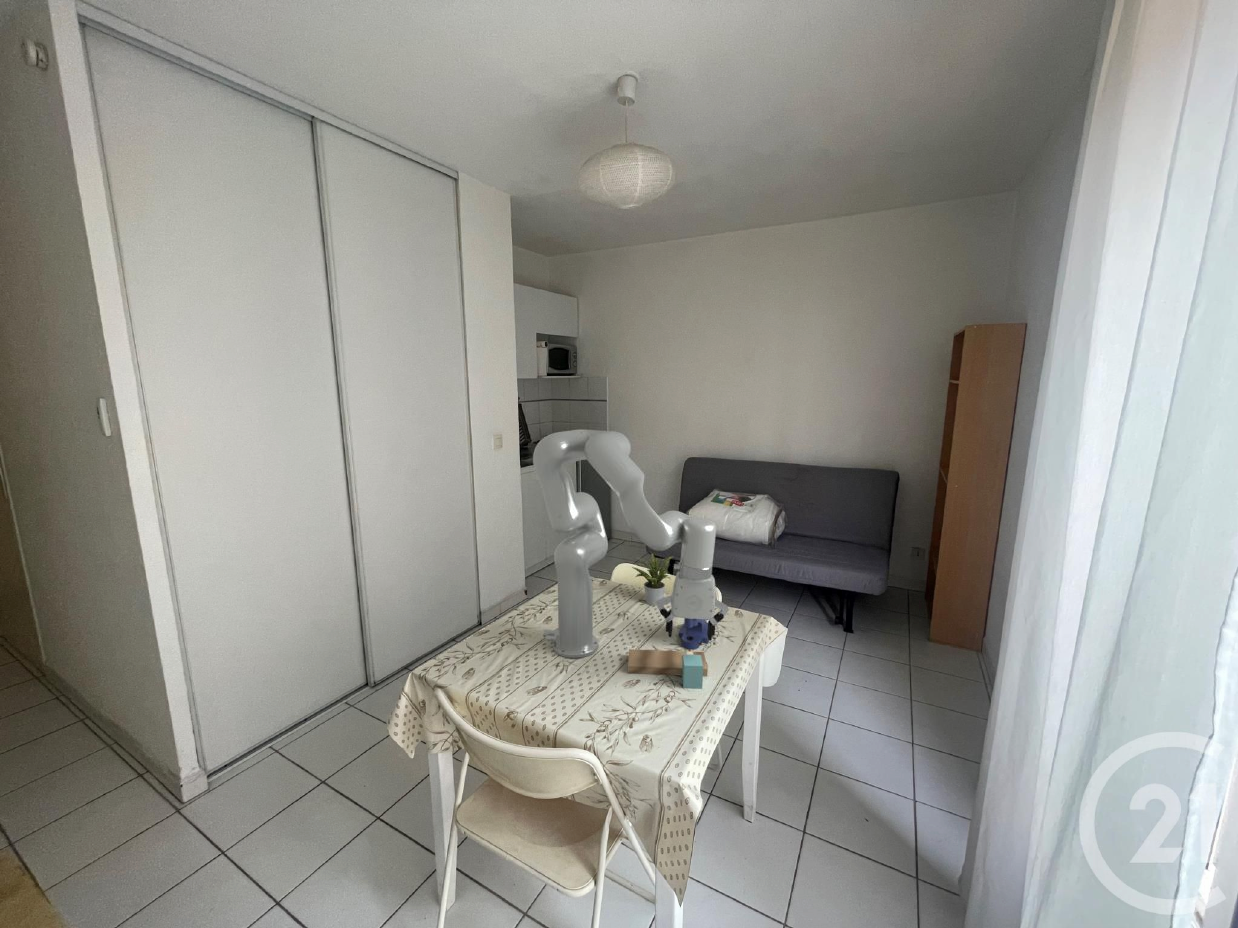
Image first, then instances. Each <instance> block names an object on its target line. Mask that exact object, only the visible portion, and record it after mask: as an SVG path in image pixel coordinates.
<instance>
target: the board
mask: <svg viewBox="0 0 1238 928" xmlns="http://www.w3.org/2000/svg"><path fill="white" fill-rule="evenodd" d="M687 652H693V655H701V658H702V663H703V677H708V672H709V670H708V665H707V661H706V656H705V652H704V651H692V650H688V651H686V650H685V651H684V650H662V649H661V650H659V649H636V648H635V649H631V648H630V649H628V660H627V662H628V663H627V674H635V675H637V674H638V675H661V676H662V675H663V676H666V675H667V676H682V664H683V654H687Z"/></svg>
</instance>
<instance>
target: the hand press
mask: <svg viewBox="0 0 1238 928" xmlns="http://www.w3.org/2000/svg"><path fill="white" fill-rule="evenodd" d="M683 620H684V622H683V624H682V626H681V627H680V629H679V631H678V639H681V646H682V648H684V649H686V650H688V651H693V650H694V651H695V650H697V649H699V648H700V646H702V645H703V644H705V645H708V644H709V643H710V641H709V640H708V636H707V630H708V621H707V620H702V619H689V618H683Z"/></svg>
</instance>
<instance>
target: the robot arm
mask: <svg viewBox="0 0 1238 928" xmlns="http://www.w3.org/2000/svg"><path fill="white" fill-rule="evenodd" d="M631 449H632V446H631V443H630V441H629V439H628V437H627V436H626V435H624V434H623V433H621V432H618V431H612V430H598V429H596V430H595V429H572V430H565V431H558V432H553V433H550V434H548V435H546V436H544V437H543V438H542V439H540V440H539V442H537V445H536V446H535V448H534V451H533V455H532V462H533V463H532V464H533V468H534V472H535V474H536V476H537V479H538V482H539V486H540V488H541V491H542V496H543V499H544V504H545V507H546V512H547V514H548V518H549V523H550V525H551V527H552V529H553V530H554V531H555V532H557V533H558V534H568V533H571V532H574V531H575V534H573V535H572V536H568V538H567V537H566V538H565V539H563V540H562V541H561V542H560V543H559V544H558V545H557V546H556V548H555V550H554V552H553V561H554V567H555V571H556V578H557V612H558V613H557V617H558V618H557V619H558V620H557V621H558V622H557V624H558V627H557V628H554V630H553V629H543V631H542V637H543V638H545V641H546V642H548V641H549V642H550V641H552V649H553V651H554V652H555V653H556V654H558V655H559V656H561V657H565V658H570V659H576V658H577V659H578V658H579V659H580V658H585V657H587V656H590V655H592V654H594V653H595V652H596V651H597V650H598V647H599V640H598V638H597V637H596V636H595V635H594V633H593V627H594V626H593V624H594V623H593V622H594V621H593V619H594V617H593V616H594V613H593V612H594V609H593V603H594V601H593V598H594V597H593V596H594V593H593V592H594V591H593V588H594V587H593V581H592V577H591V575H590V572H589V568H590V567H591V566H594V564H596V563H598V561H600V560H602V559H603V558H604V557H605V556H606V555H607V552H608V549H609V548H608V547H609V546H608V545H609V543H608V542H609V541H608V537H607V536H608V535H607V533H606V529H605V525H604V522H603V518H602V514H601V510H600V507H599V504H598V502H597V500H595V498H594V497H593V496H592V495H591V494H589V493H587V492H584V491H581V492H580V491H579V492H576V491H575V488H574V483H573V480H572V479H573V478H572V477H571V475H570V474H569V472H568V471H567V470H566V469H565V467H564V466H565V465H566V464H569V463H573V462H574V463H575V462H578V461H582V460H583V461H588V463H589V464H590V466H591V467H593V469H595V471H596V473H598V475H599V476H600V477H601V478H602V479H603V480H604V482H605V483H606V484H607V485H608V487H609V488H611V489H612V490H613V492H614V493H615V494H616V496H617V498H618V500H619V505H620V509H621V512H622V514H623V516H624V519H625V520H626V521H625V522H626V523H627V524H628V526H629V528H631V530H632V531H633V533H635V534H636V536H637V537H638V538H639V539H640V540H641V541H642V543H644V544H645V545H646V546H647V547H648V548H650V549H652V550H654V551H657V552H658V551H659V552H661V551H662V552H663V551H666V550H668V549H669V548H671V547H672V546H674V545H676V544H677V543H681V551H680V553H681V554H680V561H679V562H678V563H674V564H673V570H675V571H677V572H676V576H675V578H674V582H673V587H672V593H671V594H670V595H667V596H664V597H663V598H662V599H659V600H657V601H656V604H657V606H656V607H657V608H658V609H657V610H659V611H658V612H659V613H660V615H661V616H662V617H663V618H664V619H665V622H666V623H665V632H666V633H667V634H668V638H672V636H673V623H674V621H673V619H674V618H680V619H684V618H689V619H702V620H706V621H707V623H708V630H707V636H708V640H709V642H712V641H713V640H712V639H713V636H715V632H716V626H717V625H718V623H720V622H721V621H723V620H724V618H725V616H726V615H727V614H728V612H729V610H730V609H729V606H728V605H727V604H726V603H723V602H722V601H720V600H719V599H716V580H715V577H714V575H713V574H712V573H713V563H714V562H713V561H714V553H715V545H716V544H715V543H716V533H717V526H716V524H715V523H714V521H712V520H710V519H707V518H703V517H695V516H692V515H689V514H686V513H684V512H682V511H678V510H668V511H665V512H664V513H662V514H660V515H658V514H657V513H656V512H655V510H654V509H653V508H652V507H651V505H650V503H649V502H648V501H647V499H646V496H645V494H644V482H645V474H644V472H643V471H642V470H641V468H640V467H639V466H638V465H637V464H636V463H635V462H634V461H633V460H632V459H631V457H630V454H631ZM668 604H670V605H671V607H670V608H669V610H667V609H666V608H665V607H664V606H666V605H668ZM716 608H718V609H719V611H718V612H717V613H715V610H716Z"/></svg>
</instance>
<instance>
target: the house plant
mask: <svg viewBox="0 0 1238 928" xmlns="http://www.w3.org/2000/svg"><path fill="white" fill-rule="evenodd" d="M674 557H675V556H674V555H673V556H669V557H667V558H663V559H662V560H661V561H660V562H659V558H658V557H655V555H654V554H653V552H651V561H650V560H647V558H646V557H644V558H645V560H644V559H643V558H640V557H635V558H636V559H637V560H639V561H640V562H642V563H643V564H644V565H645V566H644V565H642V563H639V562H637V564H638V565H641V566H642V567H643V568H645V569H646V570H647V572H648V573H647V572H646V571H644V570H642V569H640V568H637V567H633V566H632V567H631V569H633V570H635V571H636V572H638V574H636V575H635V578H637V577H643V578H645V579H646V580H647V581H645V582H644V584H643V587H644V588H643V589H644V593H645V601H646V604H648V605H649V606H653V607H654V606H655V607H657V604H656V601H657V600H659V599H662V598H664V593H665V588H666V584H665V583H664V582H663V580H664V579H669V580H671V577H669V571H666V570H667V568H669V566H670V564H669V562H670V560H671V559H673V558H674ZM662 562H663V563H662ZM667 565H668V566H667ZM660 566H661V567H660ZM667 573H668V574H667Z"/></svg>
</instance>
